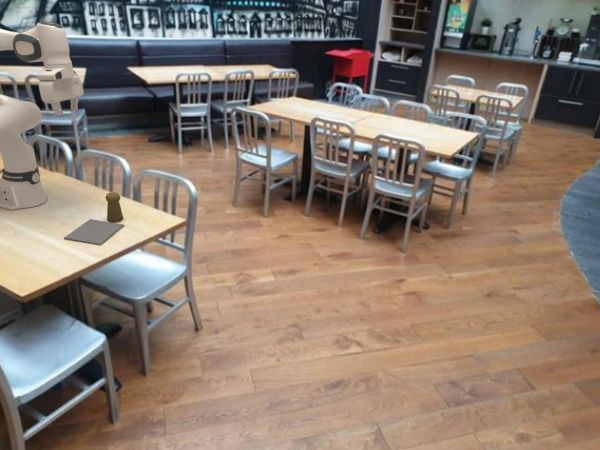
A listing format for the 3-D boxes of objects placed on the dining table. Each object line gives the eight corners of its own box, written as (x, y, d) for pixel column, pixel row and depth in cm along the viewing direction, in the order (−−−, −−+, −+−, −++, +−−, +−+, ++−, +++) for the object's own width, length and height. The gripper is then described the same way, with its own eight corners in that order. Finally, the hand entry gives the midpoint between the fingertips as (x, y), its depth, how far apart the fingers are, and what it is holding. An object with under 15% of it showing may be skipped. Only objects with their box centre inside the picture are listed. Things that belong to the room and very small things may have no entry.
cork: (118, 223, 175) (115, 197, 170) (103, 221, 176) (100, 195, 171) (126, 217, 181) (124, 191, 176) (112, 214, 182) (109, 189, 177)
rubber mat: (64, 239, 162) (63, 237, 161) (90, 220, 176) (90, 218, 176) (100, 245, 160) (100, 244, 160) (124, 225, 174) (124, 224, 174)
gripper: (68, 69, 170) (75, 107, 175) (32, 75, 151) (41, 117, 157) (84, 70, 169) (90, 108, 175) (50, 75, 150) (58, 117, 156)
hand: (67, 112), depth 165 cm, fingers open, 8 cm apart
